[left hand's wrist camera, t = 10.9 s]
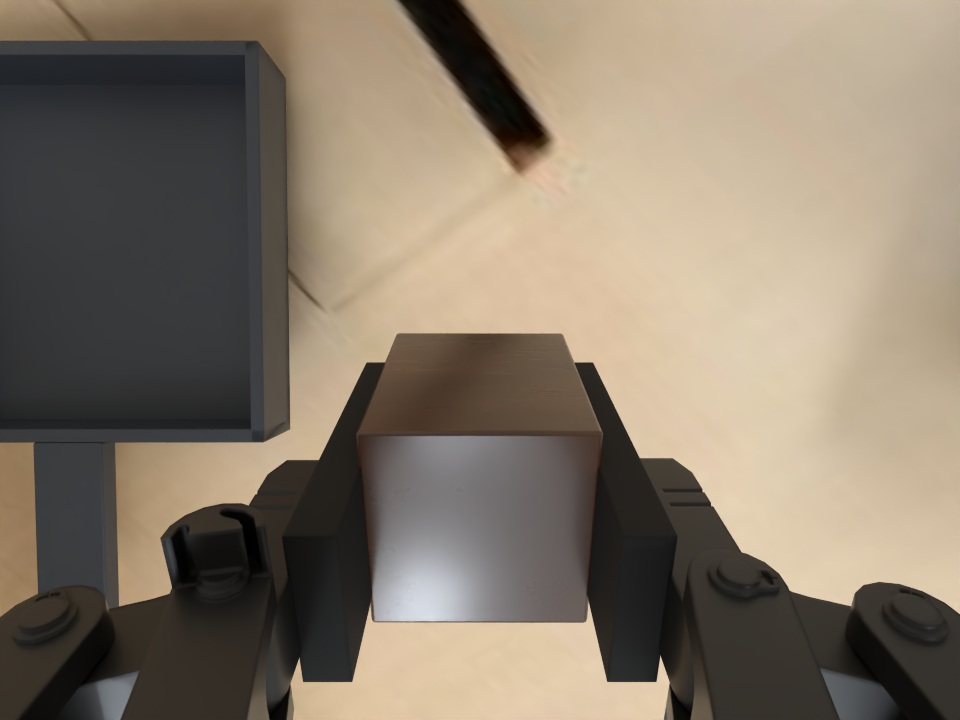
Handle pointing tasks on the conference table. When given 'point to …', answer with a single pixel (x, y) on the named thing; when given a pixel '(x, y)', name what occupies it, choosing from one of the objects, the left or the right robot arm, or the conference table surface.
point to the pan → (136, 268)
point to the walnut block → (479, 480)
